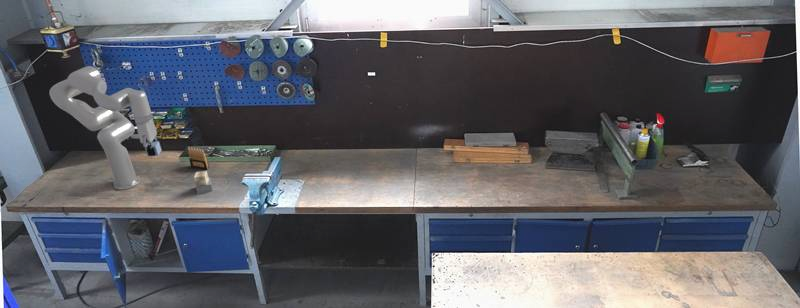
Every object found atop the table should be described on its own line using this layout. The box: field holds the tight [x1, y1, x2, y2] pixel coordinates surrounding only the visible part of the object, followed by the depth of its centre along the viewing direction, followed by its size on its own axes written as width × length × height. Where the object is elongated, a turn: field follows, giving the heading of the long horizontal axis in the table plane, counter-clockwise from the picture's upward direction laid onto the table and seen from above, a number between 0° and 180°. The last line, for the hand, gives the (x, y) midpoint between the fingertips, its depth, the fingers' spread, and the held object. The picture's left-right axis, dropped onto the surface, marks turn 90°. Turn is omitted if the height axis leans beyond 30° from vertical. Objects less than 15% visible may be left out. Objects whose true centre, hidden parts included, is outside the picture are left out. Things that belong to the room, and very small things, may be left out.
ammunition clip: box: [187, 146, 210, 171], centre depth 285 cm, size 11×2×12 cm, turn 68°
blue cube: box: [144, 140, 163, 157], centre depth 259 cm, size 5×5×5 cm
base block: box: [195, 177, 213, 195], centre depth 268 cm, size 7×7×4 cm
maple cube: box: [193, 170, 210, 187], centre depth 265 cm, size 5×5×5 cm
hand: (154, 152), depth 260 cm, fingers closed on blue cube, 5 cm apart
